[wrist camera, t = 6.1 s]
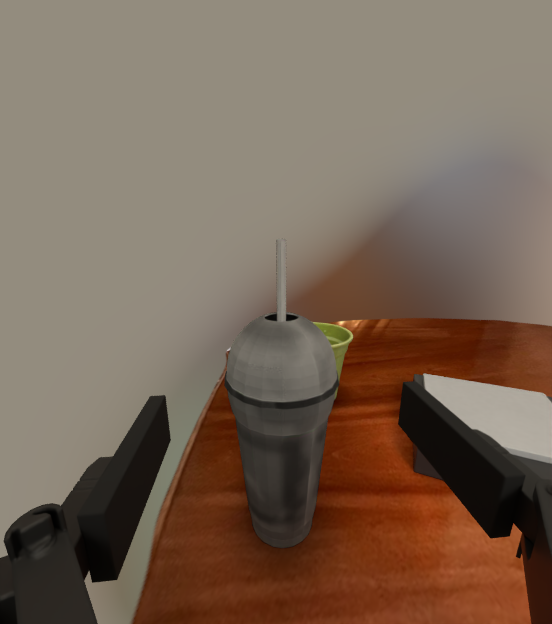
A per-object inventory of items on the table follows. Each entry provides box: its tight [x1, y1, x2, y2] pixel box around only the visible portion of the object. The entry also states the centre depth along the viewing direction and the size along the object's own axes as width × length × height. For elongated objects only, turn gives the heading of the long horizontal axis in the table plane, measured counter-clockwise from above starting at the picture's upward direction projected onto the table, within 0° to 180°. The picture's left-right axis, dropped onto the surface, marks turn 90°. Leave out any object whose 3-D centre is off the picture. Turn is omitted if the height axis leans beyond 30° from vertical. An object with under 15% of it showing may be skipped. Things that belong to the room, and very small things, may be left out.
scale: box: [413, 374, 552, 480], centre depth 28 cm, size 14×15×3 cm
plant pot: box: [313, 322, 353, 399], centre depth 36 cm, size 9×9×9 cm
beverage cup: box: [225, 239, 339, 548], centre depth 19 cm, size 7×7×20 cm
